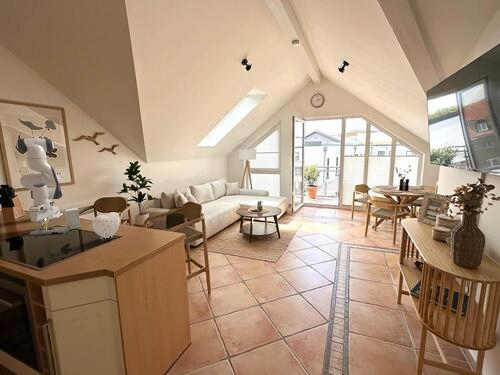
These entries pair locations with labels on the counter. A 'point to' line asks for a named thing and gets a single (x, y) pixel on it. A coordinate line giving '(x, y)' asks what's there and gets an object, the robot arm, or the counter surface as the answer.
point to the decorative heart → (106, 224)
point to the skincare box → (72, 218)
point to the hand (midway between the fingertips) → (44, 224)
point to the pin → (44, 224)
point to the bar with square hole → (50, 231)
